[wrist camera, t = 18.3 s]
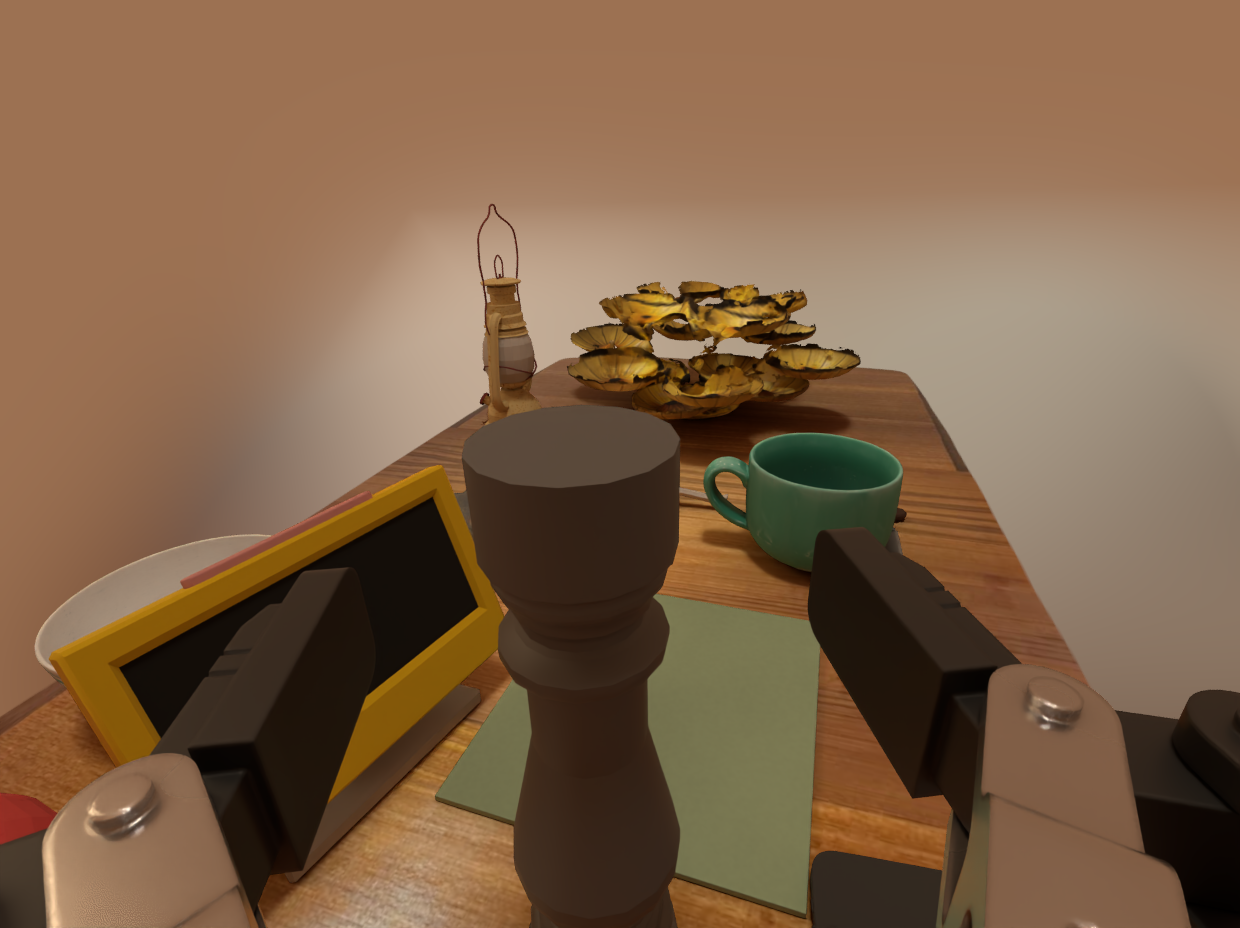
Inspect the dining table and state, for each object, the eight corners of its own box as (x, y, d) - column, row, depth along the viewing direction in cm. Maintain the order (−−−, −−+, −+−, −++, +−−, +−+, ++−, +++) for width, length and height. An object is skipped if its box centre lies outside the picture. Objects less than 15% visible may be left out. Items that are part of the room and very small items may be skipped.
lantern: (502, 410, 95) (478, 203, 83) (560, 414, 93) (544, 201, 80) (464, 438, 85) (430, 206, 73) (528, 444, 82) (505, 203, 70)
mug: (883, 528, 59) (898, 439, 56) (890, 604, 49) (910, 500, 45) (715, 506, 65) (719, 423, 61) (689, 571, 54) (691, 474, 50)
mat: (820, 627, 46) (821, 622, 46) (805, 919, 28) (806, 913, 28) (579, 583, 53) (579, 579, 52) (435, 800, 34) (434, 795, 34)
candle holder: (599, 1118, 22) (547, 523, 12) (505, 973, 26) (407, 441, 16) (707, 979, 26) (739, 437, 16) (610, 872, 30) (586, 389, 20)
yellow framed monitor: (234, 956, 27) (101, 690, 21) (149, 868, 31) (13, 620, 25) (518, 673, 43) (492, 472, 36) (438, 638, 47) (402, 449, 40)
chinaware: (371, 618, 49) (351, 536, 46) (250, 784, 35) (210, 682, 32) (199, 611, 50) (168, 531, 47) (20, 767, 37) (-40, 669, 34)
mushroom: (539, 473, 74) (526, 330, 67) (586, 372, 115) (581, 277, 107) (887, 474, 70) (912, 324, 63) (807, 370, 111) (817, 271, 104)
